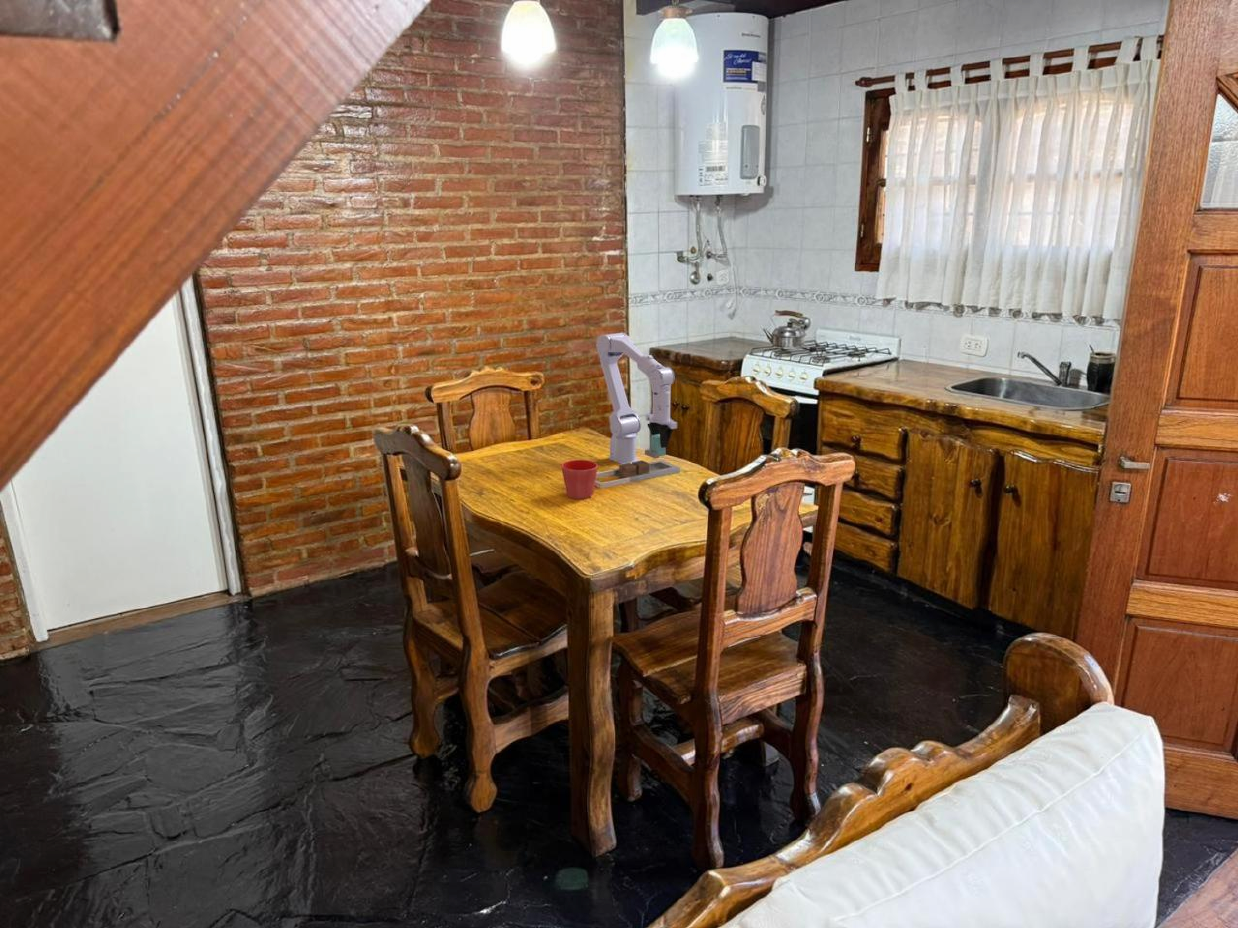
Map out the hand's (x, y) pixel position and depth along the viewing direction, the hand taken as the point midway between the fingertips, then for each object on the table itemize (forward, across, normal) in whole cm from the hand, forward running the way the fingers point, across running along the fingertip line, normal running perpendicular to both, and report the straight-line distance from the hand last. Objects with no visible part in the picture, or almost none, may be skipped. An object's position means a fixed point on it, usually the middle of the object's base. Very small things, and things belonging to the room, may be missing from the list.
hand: (660, 445), depth 274 cm
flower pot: (+9, +6, -34) cm, 36 cm away
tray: (+9, 0, -21) cm, 23 cm away
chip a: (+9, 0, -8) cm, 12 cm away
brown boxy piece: (+9, 0, -13) cm, 16 cm away
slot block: (+9, 0, -6) cm, 11 cm away
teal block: (+3, 0, -1) cm, 3 cm away
